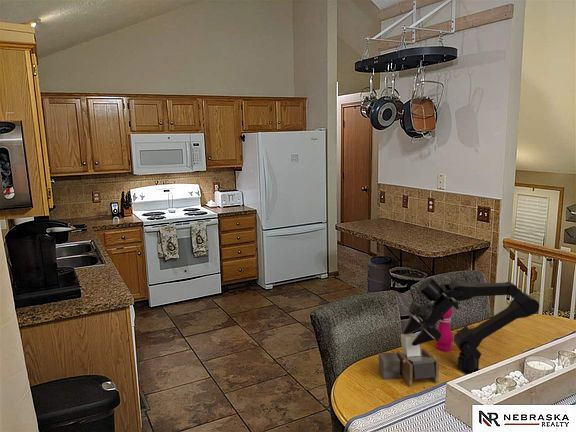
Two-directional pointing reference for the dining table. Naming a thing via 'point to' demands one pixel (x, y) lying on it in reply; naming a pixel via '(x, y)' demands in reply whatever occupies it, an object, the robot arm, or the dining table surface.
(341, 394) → the dining table surface
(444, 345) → the pepper mill
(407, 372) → the frame
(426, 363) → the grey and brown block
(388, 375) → the stand
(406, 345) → the off-white block
